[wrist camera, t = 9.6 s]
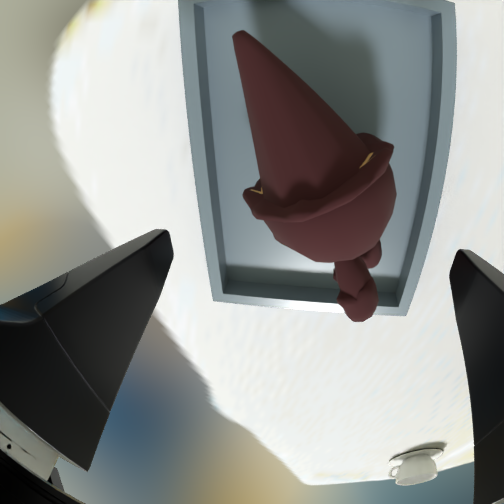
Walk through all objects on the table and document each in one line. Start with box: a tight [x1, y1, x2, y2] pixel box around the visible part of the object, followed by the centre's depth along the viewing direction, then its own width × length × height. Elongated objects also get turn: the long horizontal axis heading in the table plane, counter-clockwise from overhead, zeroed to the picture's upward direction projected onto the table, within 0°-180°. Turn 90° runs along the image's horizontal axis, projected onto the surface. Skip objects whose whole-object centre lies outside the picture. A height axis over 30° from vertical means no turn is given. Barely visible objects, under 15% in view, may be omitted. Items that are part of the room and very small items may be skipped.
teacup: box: [389, 449, 443, 485], centre depth 37 cm, size 10×10×5 cm
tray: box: [178, 0, 457, 316], centre depth 16 cm, size 14×20×2 cm
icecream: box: [232, 30, 397, 322], centre depth 14 cm, size 7×7×15 cm
